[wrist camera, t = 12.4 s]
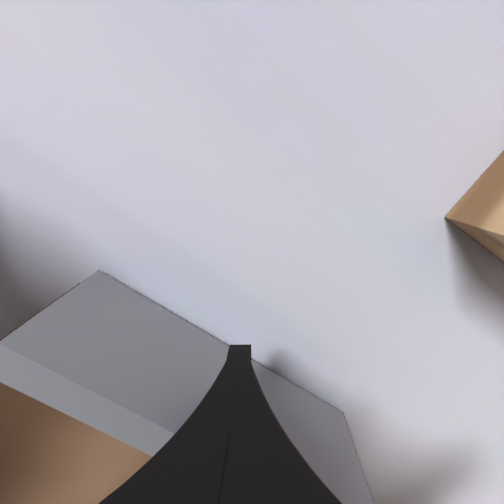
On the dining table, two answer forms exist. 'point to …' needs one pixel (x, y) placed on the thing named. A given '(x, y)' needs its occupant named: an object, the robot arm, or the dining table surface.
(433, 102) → the dining table surface
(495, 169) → the block
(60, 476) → the housing
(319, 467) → the tray
